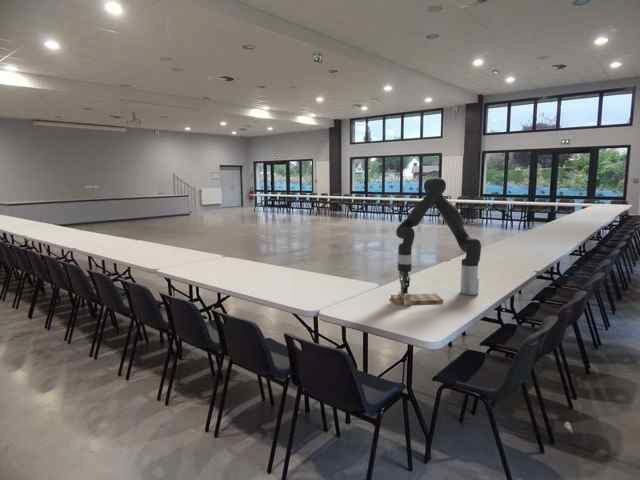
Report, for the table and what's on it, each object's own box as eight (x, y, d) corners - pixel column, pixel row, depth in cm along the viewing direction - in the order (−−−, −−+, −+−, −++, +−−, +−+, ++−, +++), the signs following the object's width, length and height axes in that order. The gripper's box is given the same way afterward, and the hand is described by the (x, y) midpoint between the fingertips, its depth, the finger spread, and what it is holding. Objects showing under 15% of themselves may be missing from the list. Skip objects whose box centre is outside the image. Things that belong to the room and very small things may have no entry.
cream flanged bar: (404, 296, 233) (404, 280, 232) (411, 305, 218) (412, 288, 217) (397, 297, 233) (397, 280, 232) (404, 305, 218) (404, 288, 216)
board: (435, 296, 233) (435, 293, 233) (442, 303, 222) (443, 299, 221) (390, 298, 232) (390, 294, 232) (396, 304, 220) (396, 301, 220)
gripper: (415, 265, 216) (414, 295, 219) (407, 259, 230) (407, 288, 233) (401, 265, 216) (400, 296, 218) (394, 259, 230) (394, 288, 232)
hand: (404, 292), depth 226 cm, fingers open, 5 cm apart
